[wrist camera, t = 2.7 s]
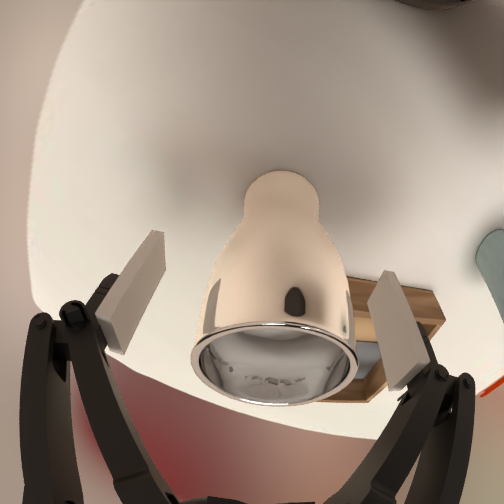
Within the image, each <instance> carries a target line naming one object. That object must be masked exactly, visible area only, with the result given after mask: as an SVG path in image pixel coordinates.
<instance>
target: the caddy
mask: <svg viewBox="0 0 504 504" xmlns="http://www.w3.org/2000/svg"><path fill="white" fill-rule="evenodd" d="M347 280H348V283H349V288H350V293H351V299H352V304H353V312H354V321H355V332H356V347H357V355H358V360H359V366H358V370H357V373H356V375H355V377H354V378H353V380H352V381H351V382H350V383H349V384H348V385H347V386H346V387H345V388H343V389H342V390H340V391H339V392H337V393H336V394H334V395H332V396H329V397H327V398H325V399H322V400H319V401H316V402H336V403H368V402H369V401H371V400H372V399H373V398H374V397H375V396H376V395H377V394H378V393H380V392H381V391H382V390H383V389H384V388H385V387H386V386H387V385H388V384H387V379H386V375H385V370H384V366H383V361H382V357H381V353H380V349H379V345H378V341H377V337H376V333H375V329H374V326H373V322H372V318H371V315H370V311H369V308H368V305H367V302H368V300H369V298H370V296H371V294H372V292H373V291H374V289H375V287H376V285H377V283H378V282H376V281H370V280H364V279H358V278H352V277H347ZM401 288H402V290H403V292H404V294H405V297H406V299H407V301H408V304H409V306H410V308H411V311H412V313H413V316H414V318H415V321H418V322H420V323H421V324H422V326H423V327H424V328H425V330H426V333H427V335H428V338H429V340H431V338H432V337H433V336H434V335H435V334H436V332H437V331H438V330H439V329H440V327H441V326H442V325H443V324H444V322H445V321H446V318H445V316H444V314H443V312H442V310H441V307H440V305H439V303H438V301H437V299H436V297H435V295H434V293H433V291H430V290H424V289H418V288H412V287H406V286H401Z"/></svg>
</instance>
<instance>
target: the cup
mask: <svg viewBox="0 0 504 504" xmlns="http://www.w3.org/2000/svg"><path fill="white" fill-rule="evenodd" d="M476 263H477V266H478V268H479V270H480V272H481V274H482V276H483V278H484V280H485V282H486V284H487V286H488V288H489V290H490V292H491V294H492V297H493V299H494V301H495V303H496V306H497V308H498V310H499V313H500V315H501V317H502V320H503V322H504V231H503V230H496V231H493V232H492V233H490V234H489V235H488V236H487V237H486V238H485V239H484V240H483V242H482V243H481V245H480V247H479V249H478V251H477V255H476Z"/></svg>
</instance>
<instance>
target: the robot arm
mask: <svg viewBox="0 0 504 504" xmlns="http://www.w3.org/2000/svg"><path fill="white" fill-rule="evenodd" d="M396 1H399V2H401V3H404V4H408V5H411V6H415V7H419V8H424V9H432V10H444V9H449V8H453V7H457V6H460V5H464V4H467V3H469V2H470V1H472V0H396ZM165 271H166V263H165V245H164V232H160V231H154V230H152V231H151V232H150V233H149V235H148V236H147V237H146V239H145V240H144V241H143V243H142V244H141V246H140V247H139V248H138V250H137V251H136V252H135V254H134V255H133V257H132V258H131V259H130V261H129V262H128V264H127V265H126V267H125V268H124V269H123V271H122V272H121V274H120V275H117V274H113V273H111V274H110V275H108V276H107V277H105V278H104V279H103V280H102V282H101V283H100V285H99V287H98V288H97V289H96V290H95V293H93V295H92V296H91V298H90V299H89V301H88V302H87V304H86V305H84V303H82V302H81V301H77V300H73V301H69V302H67V303H65V304H64V305H63V306H62V307H61V309H60V312H59V316H60V318H61V320H62V321H61V320H53V319H52V318H51V316H50V315H49V314H48V313H44V312H42V313H38V314H37V315H35V316H34V317H33V318H32V320H31V322H30V325H29V330H28V335H27V341H26V347H25V354H24V360H23V369H22V378H21V391H20V415H19V418H20V419H19V420H20V423H19V424H20V448H21V461H22V470H23V477H24V484H25V486H24V493H23V502H22V504H84V502H83V493H82V487H81V483H80V477H79V472H78V467H77V461H76V455H75V447H74V439H73V430H72V419H71V401H70V361H72V364H73V369H74V373H75V377H76V381H77V384H78V388H79V391H80V395H81V398H82V401H83V405H84V408H85V411H86V414H87V416H88V420H89V423H90V425H91V428H92V431H93V433H94V436H95V438H96V441H97V443H98V446H99V448H100V451H101V453H102V455H103V457H104V460H105V462H106V464H107V466H108V468H109V470H110V472H111V475H112V477H113V485H114V488H115V490H116V492H117V494H118V496H119V498H120V500H121V502H122V503H123V504H246V503H243V502H240V501H237V500H232V499H224V498H218V497H211V496H208V497H201V498H194V499H190V500H187V501H184V502H181V503H180V502H179V500H178V499H177V497H176V496H175V495H174V493H173V491H172V490H171V488H170V487H169V486H168V484H167V483H166V481H165V480H164V479H163V478H162V476H161V474H160V473H159V471H158V469H157V468H156V466H155V464H154V463H153V461H152V459H151V457H150V455H149V454H148V452H147V450H146V448H145V446H144V444H143V443H142V440H141V438H140V436H139V434H138V432H137V430H136V429H135V426H134V424H133V422H132V420H131V418H130V415H129V413H128V411H127V409H126V406H125V404H124V402H123V399H122V397H121V394H120V392H119V389H118V387H117V384H116V382H115V379H114V377H113V374H112V371H111V368H110V365H109V363H108V360H107V356H106V353H105V351H104V350H105V348H106V346H107V345H108V347H109V349H110V351H112V352H115V353H118V354H121V355H124V354H125V352H126V350H127V348H128V345H129V343H130V341H131V339H132V337H133V335H134V332H135V330H136V328H137V326H138V324H139V322H140V320H141V318H142V316H143V314H144V312H145V310H146V308H147V306H148V304H149V302H150V300H151V298H152V296H153V294H154V292H155V290H156V288H157V286H158V284H159V282H160V280H161V278H162V276H163V274H164V272H165ZM367 305H368V308H369V311H370V315H371V318H372V322H373V326H374V329H375V333H376V337H377V341H378V345H379V349H380V353H381V357H382V361H383V366H384V370H385V375H386V379H387V384H388V389H389V391H400V390H402V389H403V388H404V387H405V386H406V385H407V388H408V390H407V391H406V392H405V393H404V394H403V395H402V396H401V397H399V398H398V400H397V401H399V400H400V399H401V401H400V403H399V405H398V407H397V408H396V410H395V412H394V414H393V415H392V417H391V419H390V421H389V422H388V424H387V426H386V427H385V429H384V430H383V432H382V434H381V435H380V437H379V438H378V440H377V441H376V443H375V444H374V446H373V447H372V449H371V450H370V452H369V453H368V454H367V456H366V457H365V459H364V460H363V461H362V463H361V464H360V465H359V467H358V468H357V469H356V471H355V472H354V473H353V474H352V476H351V477H350V478H349V479H348V481H347V482H346V483H345V484H344V486H343V487H342V488H341V489H340V490H339V491H338V492H337V493H335V494H334V495H332V496H331V497H330V498H328V499H327V500H326V502H324V503H323V504H396V500H395V496H396V494H397V492H398V491H399V489H400V487H401V486H402V484H403V483H404V481H405V479H406V477H407V476H408V474H409V472H410V471H411V468H412V467H413V465H414V463H415V461H416V460H417V457H418V456H419V454H420V452H421V454H420V458H419V461H418V465H417V468H416V472H415V475H414V478H413V481H412V484H411V487H410V490H409V492H408V495H407V498H406V500H405V503H404V504H459V502H460V498H461V495H462V491H463V487H464V483H465V478H466V473H467V469H468V463H469V458H470V451H471V444H472V436H473V426H474V412H475V381H474V379H473V377H472V376H471V375H470V374H468V373H462V374H461V375H460V376H459V377H454V376H451V375H449V373H448V371H447V369H446V368H445V367H444V366H442V365H440V364H438V363H437V360H436V357H435V354H434V351H433V348H432V346H431V343H430V340H429V338H428V335H427V333H426V330H425V328H424V327H423V326H422V324H421V323H420V322H418V321H415V318H414V316H413V313H412V311H411V308H410V306H409V304H408V301H407V299H406V297H405V294H404V292H403V290H402V288H401V286H400V283H399V281H398V279H397V277H396V275H395V273H394V272H391V271H386V270H384V271H383V273H382V275H381V277H380V279H379V281H378V283H377V285H376V287H375V289H374V291H373V292H372V294H371V296H370V298H369V300H368V302H367ZM451 409H452V412H451ZM280 504H315V502H304V503H303V502H301V503H280Z"/></svg>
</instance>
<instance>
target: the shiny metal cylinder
mask: <svg viewBox="0 0 504 504" xmlns="http://www.w3.org/2000/svg"><path fill="white" fill-rule="evenodd" d="M318 212H319V199H318V195H317V193H316V190H315V189H314V187H313V186H312V184H311V183H310V182H309V181H308V180H307V179H305V178H304V177H302V176H301V175H299V174H297V173H294V172H290V171H283V170H279V171H272V172H268V173H266V174H264V175H262V176H260V177H259V178H257V179H256V180H255V181H254V182H253V183H252V184H251V185H250V187H249V188H248V190H247V192H246V195H245V199H244V215H245V217H244V218H243V220H242V221H241V223H240V224H239V225H238V227H237V228H236V229H235V231H234V232H233V234H232V235H231V237H230V238H229V239H228V241H227V243H226V244H225V246H224V248H223V250H222V251H221V253H220V255H219V257H218V259H217V261H216V263H215V266H214V268H213V271H212V273H211V276H210V279H209V282H208V285H207V289H206V292H205V296H204V299H203V303H202V308H201V312H200V317H199V322H198V327H197V333H196V338H195V342H194V347H193V349H192V352H191V365H192V368H193V370H194V372H195V374H196V375H197V376H198V378H199V379H200V380H201V381H202V382H203V383H205V384H206V385H207V386H208V387H210V388H211V389H213V390H215V391H216V392H218V393H220V394H222V395H224V396H227V397H229V398H232V399H235V400H238V401H241V402H245V403H250V404H255V405H262V406H296V405H303V404H308V403H312V402H316V401H319V400H322V399H325V398H327V397H329V396H332V395H334V394H336V393H337V392H339V391H340V390H342V389H343V388H345V387H346V386H347V385H348V384H349V383H350V382H351V381H352V380H353V378H354V377H355V375H356V373H357V370H358V366H359V360H358V355H357V347H356V332H355V321H354V312H353V304H352V299H351V293H350V288H349V283H348V280H347V277H346V273H345V270H344V267H343V264H342V261H341V259H340V257H339V255H338V253H337V250H336V248H335V246H334V244H333V242H332V241H331V239H330V237H329V236H328V234H327V233H326V231H325V229H324V228H323V226H322V225H321V223H320V221H319V220H318Z"/></svg>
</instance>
